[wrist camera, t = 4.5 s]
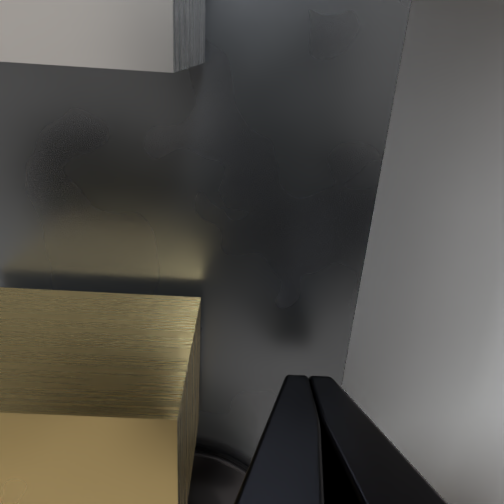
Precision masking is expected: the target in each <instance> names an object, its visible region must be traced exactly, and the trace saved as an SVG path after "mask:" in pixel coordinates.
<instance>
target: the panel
mask: <svg viewBox="0 0 504 504" xmlns="http://www.w3.org/2000/svg"><path fill="white" fill-rule="evenodd" d="M411 1H412V0H206V7H205V63H202V64H199V65H196V66H193V67H190V68H187V69H184V70H181V71H178V72H174V73H168V72H153V71H137V70H122V69H107V68H91V67H76V66H60V65H45V64H30V63H14V62H0V287H3V288H23V289H43V290H63V291H83V292H103V293H123V294H143V295H163V296H183V297H201V317H200V378H199V422H198V430H197V437H196V445H195V452H194V459H193V467H192V474H191V481H190V489H189V496H188V504H234V502H235V499H236V497H237V494H238V492H239V490H240V487H241V485H242V482H243V480H244V477H245V475H246V472H247V470H248V467H249V465H250V462H251V460H252V458H253V455H254V453H255V450H256V448H257V445H258V443H259V440H260V438H261V435H262V433H263V430H264V428H265V425H266V423H267V421H268V418H269V416H270V413H271V411H272V408H273V406H274V403H275V401H276V398H277V396H278V393H279V391H280V389H281V386H282V384H283V381H284V379H285V377H286V376H287V375H305V376H307V377H308V378H309V377H310V376H329V377H331V378H333V379H334V380H335V381H336V382H337V384H338V385H339V386H340V387H341V385H342V379H343V374H344V368H345V363H346V357H347V352H348V346H349V341H350V335H351V330H352V324H353V319H354V314H355V308H356V303H357V297H358V292H359V286H360V281H361V275H362V270H363V264H364V259H365V253H366V248H367V242H368V237H369V231H370V226H371V220H372V215H373V209H374V204H375V198H376V193H377V187H378V182H379V176H380V171H381V165H382V160H383V154H384V149H385V143H386V138H387V132H388V127H389V121H390V116H391V110H392V105H393V99H394V94H395V88H396V83H397V77H398V72H399V66H400V61H401V55H402V50H403V45H404V39H405V34H406V28H407V23H408V17H409V12H410V6H411Z"/></svg>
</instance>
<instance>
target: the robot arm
mask: <svg viewBox="0 0 504 504" xmlns="http://www.w3.org/2000/svg"><path fill="white" fill-rule="evenodd" d="M234 504H447V503H446V502H445V500H444V499H443V498H442V497H441V496H440V495H439V494H438V493H437V492H436V491H435V490H434V488H433V487H432V486H431V485H430V484H429V483H428V482H427V481H426V480H425V479H424V478H423V476H422V475H421V474H420V473H419V472H418V471H417V470H416V469H415V468H414V467H413V466H412V464H411V463H410V462H409V461H408V460H407V459H406V458H405V457H404V456H403V455H402V453H401V452H400V451H399V450H398V449H397V448H396V447H395V446H394V445H393V444H392V443H391V441H390V440H389V439H388V438H387V437H386V436H385V435H384V434H383V433H382V432H381V431H380V429H379V428H378V427H377V426H376V425H375V424H374V423H373V422H372V421H371V420H370V418H369V417H368V416H367V415H366V414H365V413H364V412H363V411H362V410H361V409H360V408H359V406H358V405H357V404H356V403H355V402H354V401H353V400H352V399H351V398H350V397H349V396H348V394H347V393H346V392H345V391H344V390H343V389H342V388H341V387H340V386H339V385H338V384H337V382H336V381H335V380H334V379H333V378H331V377H329V376H310V377H309V378H308V377H307V376H305V375H287V376H286V377H285V379H284V381H283V384H282V386H281V389H280V391H279V393H278V396H277V398H276V401H275V403H274V406H273V408H272V411H271V413H270V416H269V418H268V421H267V423H266V425H265V428H264V430H263V433H262V435H261V438H260V440H259V443H258V445H257V448H256V450H255V453H254V455H253V458H252V460H251V462H250V465H249V467H248V470H247V472H246V475H245V477H244V480H243V482H242V485H241V487H240V490H239V492H238V494H237V497H236V499H235V502H234Z"/></svg>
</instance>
